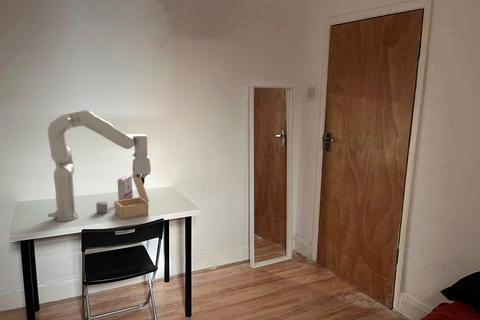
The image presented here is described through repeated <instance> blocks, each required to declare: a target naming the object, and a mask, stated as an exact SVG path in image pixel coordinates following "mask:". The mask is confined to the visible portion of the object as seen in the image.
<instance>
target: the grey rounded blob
mask: <svg viewBox="0 0 480 320" xmlns="http://www.w3.org/2000/svg"><path fill="white" fill-rule="evenodd" d="M95 205H96V214H97V215H106V214H108V211H109V210H108V202H107V201H97V202H96V204H95Z"/></svg>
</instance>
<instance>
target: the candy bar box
mask: <svg viewBox="0 0 480 320" xmlns="http://www.w3.org/2000/svg"><path fill="white" fill-rule="evenodd" d="M116 182H117V197H118V199H117V200H118V201H119V200H125V199H131V198H134V197H133V177H132V175H125V176H122V177H120V178H118V179H117V181H116Z"/></svg>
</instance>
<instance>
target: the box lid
mask: <svg viewBox="0 0 480 320" xmlns="http://www.w3.org/2000/svg"><path fill="white" fill-rule="evenodd" d="M130 176H132V181H133V182H134V185H135V188H136V190H137V193H138V197H140V198H142V199H143V200H145V201H146V202H148V203H149V202H150V200H149V198H148V194H147V191H146V189H145V187H144V185H143V183H142V180H141V178H139V177H137V176H133V173H132V174H131V175H130Z"/></svg>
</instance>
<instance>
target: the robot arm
mask: <svg viewBox="0 0 480 320" xmlns="http://www.w3.org/2000/svg"><path fill="white" fill-rule="evenodd" d="M77 127H85V128H86V129H89V130H91V131H92V132H94V133H96V134H98V135H100V136H102V137H103V138H105V139H106V140H109V141H110V142H112V143H114V144H116V145H117V146H120V147H121V148H123V149H126V150H129V149H132V148H133V147H134V153H132V157H133V159H132V174H133V176H137V177H139V178H141V180H142V183H143V186H144V185H145V179H146V177H147V176H148V175H150V174H151V171H152V167H151V160H150V157H149V156H148V137H147V135H146V134H130V133H129V134H128V133H127V134H126V133H124V132H122V131H120V130H119V129H117V128H115V126H113V125H112V124H111V123H110V122H109V121H106V120H105V119H103V118H101V117H99V116H98V115H95V114H94V113H93V112H92V111H91V110H87V109H86V110H85V109H84V110H80V111H76V112H70V113H65V114H62V115H60V116H58V117H56V118H55V119H54V120H53V121H51V123H50V124H49V126H48V127H47V138H48V143H49V148H50V157H51V159H52V160H53V162H54V164H55V170H54V172H53V181H54V188H55V201H56V210H55V211H54V212H51V213H48V214H47V217H48V218H54V220H55V221H57V222H69V221H73V220H76V219H77V218H79V214H78V213H77V212H76V206H75V203H76V202H75V191H74V178H73V175H74V172H75V168H74V167H75V166H74V162H73V156H72V151H71V148H70V146H68V145H67V140H66V136H65V135H66V134H65V133H66V132H67V131H69V130H71V129H73V128H77Z"/></svg>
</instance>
